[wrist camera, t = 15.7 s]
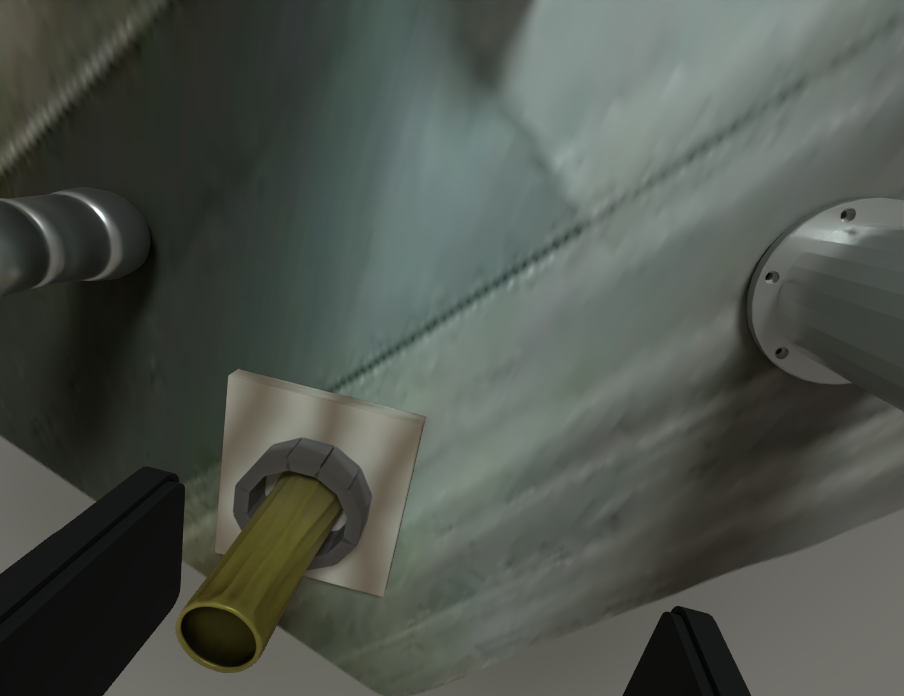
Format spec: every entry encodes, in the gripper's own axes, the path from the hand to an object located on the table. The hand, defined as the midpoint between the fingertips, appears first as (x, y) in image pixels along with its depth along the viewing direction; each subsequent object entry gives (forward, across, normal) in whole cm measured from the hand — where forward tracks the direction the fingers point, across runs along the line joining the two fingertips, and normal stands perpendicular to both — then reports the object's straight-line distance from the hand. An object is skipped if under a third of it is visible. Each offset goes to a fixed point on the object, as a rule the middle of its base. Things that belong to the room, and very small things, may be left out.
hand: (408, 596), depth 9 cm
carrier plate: (+28, +10, +20) cm, 36 cm away
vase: (+27, +10, +20) cm, 35 cm away
